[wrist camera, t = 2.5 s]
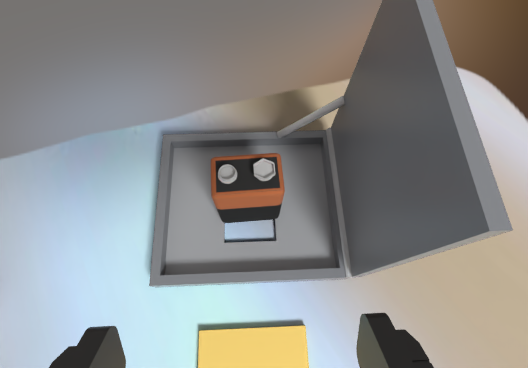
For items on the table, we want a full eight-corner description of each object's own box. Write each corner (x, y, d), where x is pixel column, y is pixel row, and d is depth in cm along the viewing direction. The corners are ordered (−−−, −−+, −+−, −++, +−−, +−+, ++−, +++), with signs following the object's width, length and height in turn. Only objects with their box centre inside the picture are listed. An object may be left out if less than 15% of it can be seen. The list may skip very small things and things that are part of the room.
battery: (279, 219, 36) (286, 189, 27) (221, 224, 36) (209, 195, 27) (275, 185, 38) (281, 146, 29) (220, 189, 38) (208, 151, 28)
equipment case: (354, 278, 35) (512, 230, 13) (155, 287, 34) (-23, 250, 12) (333, 138, 41) (416, -46, 20) (167, 143, 41) (66, -44, 19)
